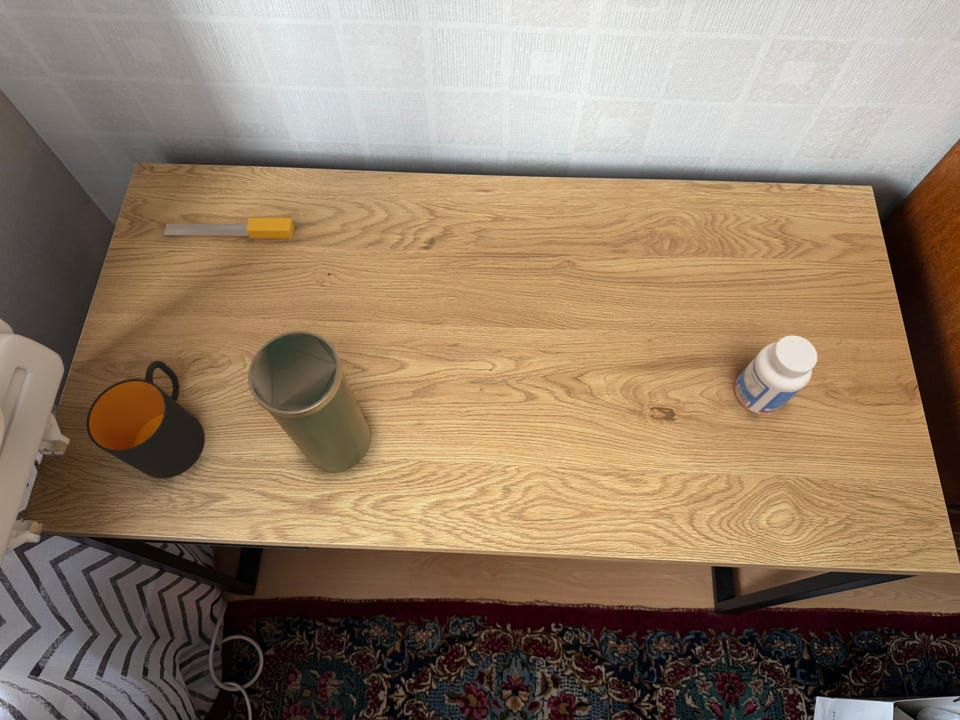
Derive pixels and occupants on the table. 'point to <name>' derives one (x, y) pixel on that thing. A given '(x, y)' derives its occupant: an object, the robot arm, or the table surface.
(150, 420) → the mug
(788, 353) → the pill bottle
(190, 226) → the knife
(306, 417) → the canister
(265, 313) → the table surface
